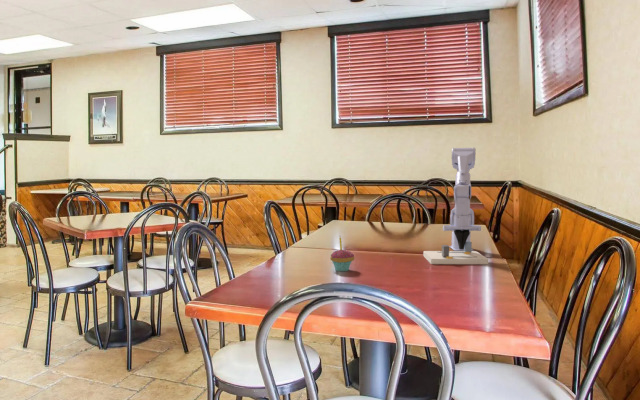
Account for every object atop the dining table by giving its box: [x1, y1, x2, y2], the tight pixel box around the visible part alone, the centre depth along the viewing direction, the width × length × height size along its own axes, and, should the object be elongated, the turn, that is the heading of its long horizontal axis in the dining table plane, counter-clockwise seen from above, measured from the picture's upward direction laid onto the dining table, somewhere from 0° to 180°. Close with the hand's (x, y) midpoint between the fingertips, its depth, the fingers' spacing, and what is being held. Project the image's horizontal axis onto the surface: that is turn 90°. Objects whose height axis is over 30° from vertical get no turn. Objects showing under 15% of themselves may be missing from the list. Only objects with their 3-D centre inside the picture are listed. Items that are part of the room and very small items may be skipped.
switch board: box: [422, 250, 489, 265], centre depth 178 cm, size 15×21×3 cm
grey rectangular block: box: [464, 240, 473, 252], centre depth 183 cm, size 3×2×4 cm, turn 178°
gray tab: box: [441, 244, 450, 257], centre depth 174 cm, size 3×2×4 cm, turn 178°
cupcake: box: [330, 236, 356, 272], centre depth 162 cm, size 9×8×12 cm
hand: (461, 248), depth 183 cm, fingers closed
